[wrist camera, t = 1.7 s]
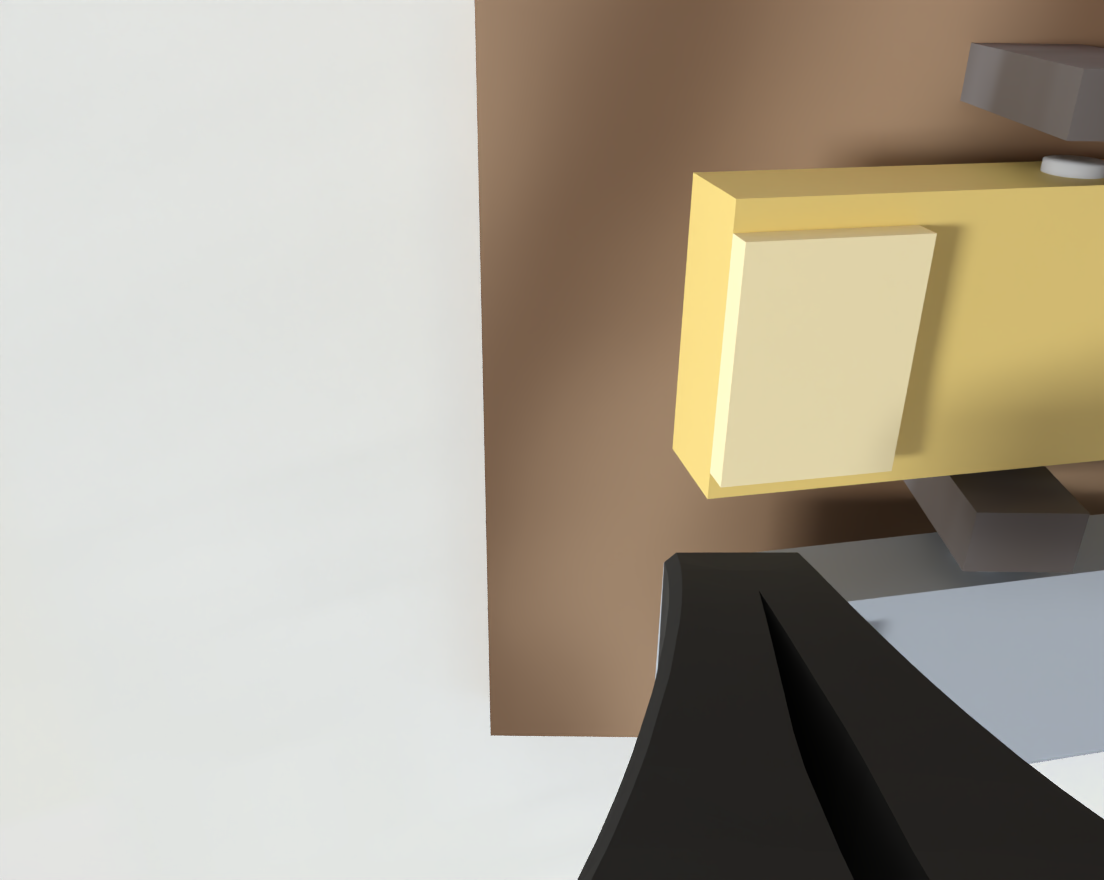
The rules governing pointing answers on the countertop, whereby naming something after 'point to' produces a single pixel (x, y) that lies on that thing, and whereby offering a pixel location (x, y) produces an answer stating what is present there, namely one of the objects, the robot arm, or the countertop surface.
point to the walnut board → (659, 281)
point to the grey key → (988, 634)
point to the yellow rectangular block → (891, 323)
